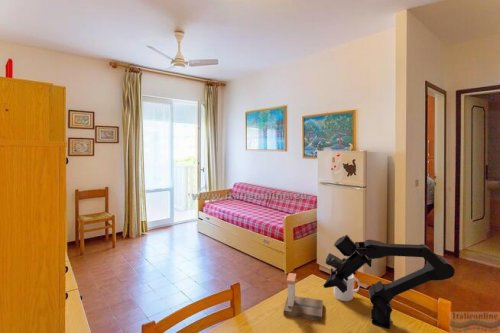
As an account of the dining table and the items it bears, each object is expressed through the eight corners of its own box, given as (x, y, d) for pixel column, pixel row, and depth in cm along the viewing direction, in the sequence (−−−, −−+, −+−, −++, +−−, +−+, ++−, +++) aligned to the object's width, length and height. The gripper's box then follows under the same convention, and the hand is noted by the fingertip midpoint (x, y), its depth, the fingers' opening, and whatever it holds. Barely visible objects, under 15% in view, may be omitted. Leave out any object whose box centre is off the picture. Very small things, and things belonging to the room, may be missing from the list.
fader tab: (295, 298, 125) (296, 273, 124) (294, 307, 119) (294, 281, 118) (288, 297, 126) (288, 272, 125) (286, 306, 120) (286, 280, 119)
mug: (363, 301, 127) (364, 278, 126) (337, 302, 127) (338, 279, 126) (355, 290, 136) (355, 269, 135) (331, 292, 135) (331, 270, 134)
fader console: (322, 304, 125) (322, 300, 125) (321, 321, 113) (321, 316, 113) (287, 299, 129) (287, 295, 129) (283, 315, 118) (283, 310, 117)
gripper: (337, 241, 124) (311, 262, 128) (338, 258, 106) (308, 283, 110) (356, 260, 122) (329, 281, 126) (360, 280, 104) (329, 304, 109)
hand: (324, 286), depth 118 cm, fingers closed
